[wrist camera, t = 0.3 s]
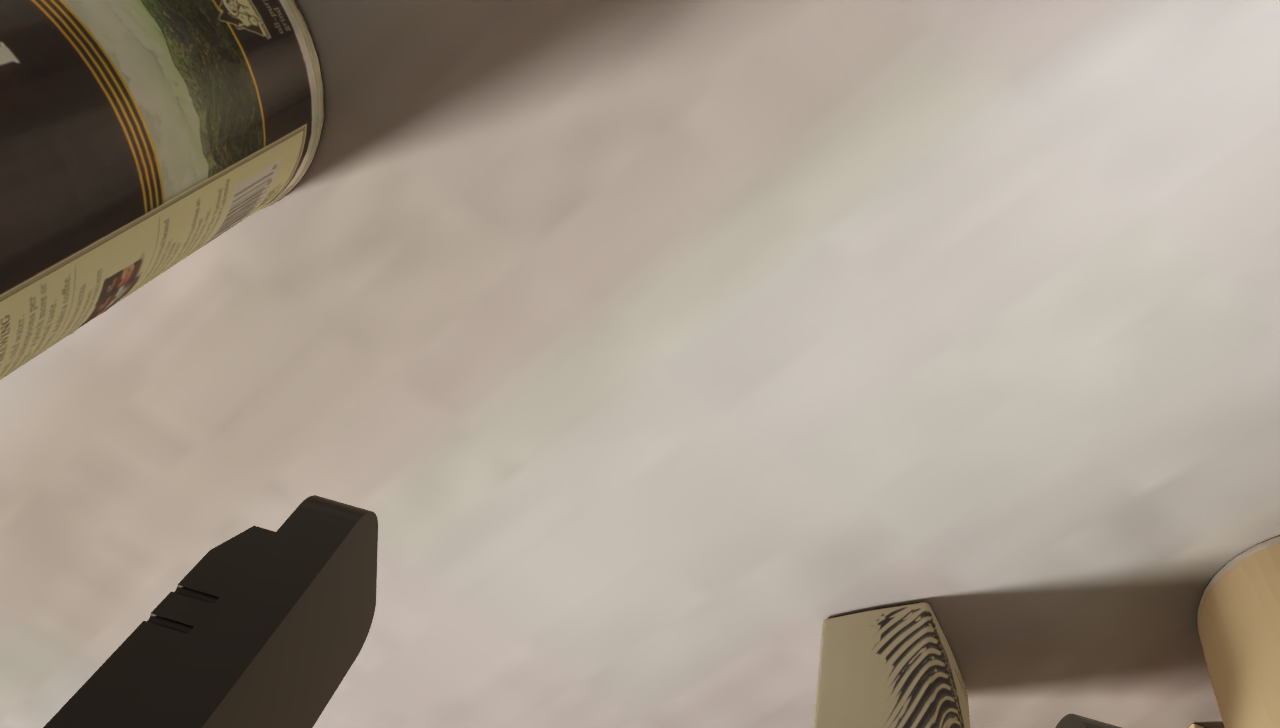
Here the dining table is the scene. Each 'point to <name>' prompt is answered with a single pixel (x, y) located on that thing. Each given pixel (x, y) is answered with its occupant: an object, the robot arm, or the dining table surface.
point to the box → (888, 672)
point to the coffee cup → (1245, 637)
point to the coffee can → (138, 145)
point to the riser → (1195, 726)
